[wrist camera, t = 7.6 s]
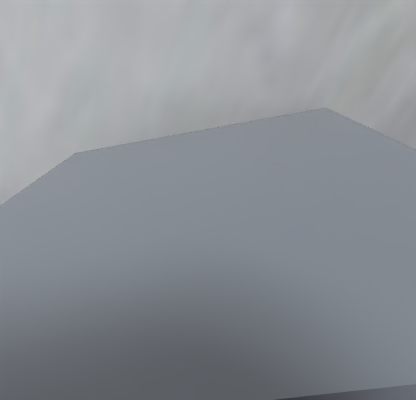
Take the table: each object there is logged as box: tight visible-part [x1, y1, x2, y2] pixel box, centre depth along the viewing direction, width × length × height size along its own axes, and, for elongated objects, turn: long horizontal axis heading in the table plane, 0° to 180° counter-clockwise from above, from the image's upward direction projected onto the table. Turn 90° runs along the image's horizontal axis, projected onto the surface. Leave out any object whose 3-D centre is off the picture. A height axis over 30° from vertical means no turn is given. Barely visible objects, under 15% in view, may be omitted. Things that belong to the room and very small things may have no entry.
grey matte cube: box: [0, 108, 416, 400], centre depth 8 cm, size 8×8×9 cm
